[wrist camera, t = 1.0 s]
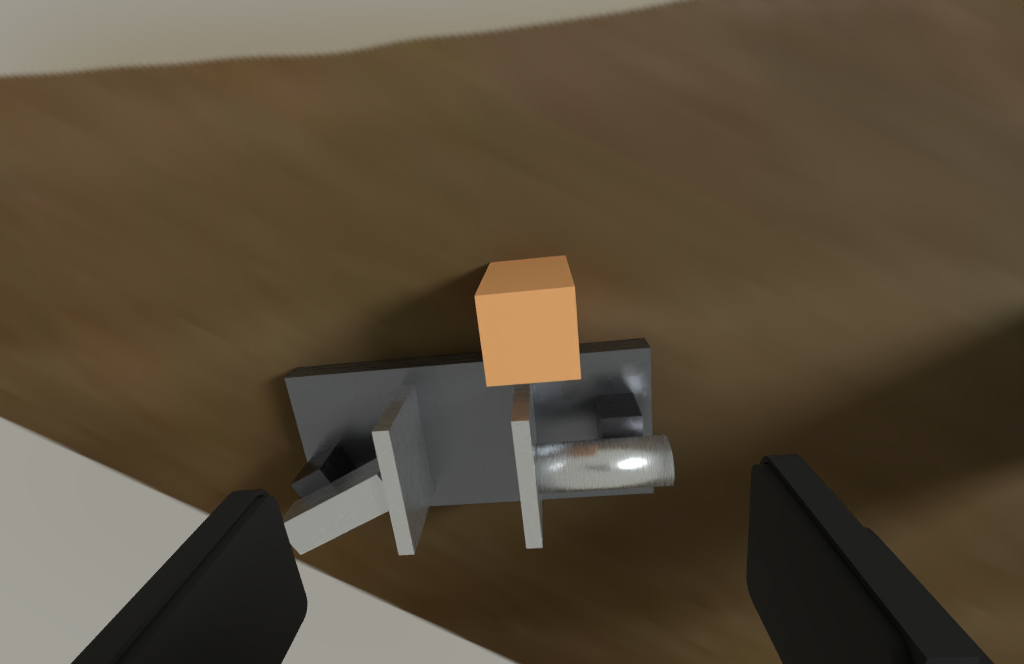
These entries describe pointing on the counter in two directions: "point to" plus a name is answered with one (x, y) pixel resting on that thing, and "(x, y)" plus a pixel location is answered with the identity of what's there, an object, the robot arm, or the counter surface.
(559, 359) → the orange block
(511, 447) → the shaft stand
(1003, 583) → the counter surface
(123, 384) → the counter surface
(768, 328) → the counter surface
